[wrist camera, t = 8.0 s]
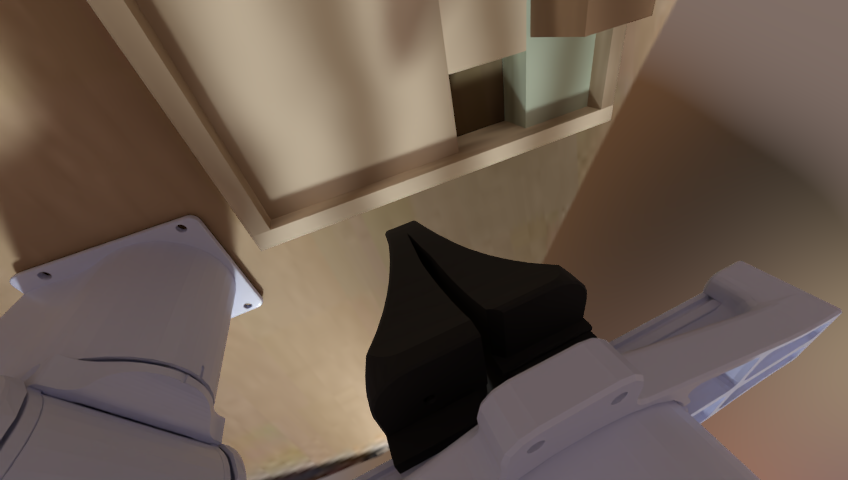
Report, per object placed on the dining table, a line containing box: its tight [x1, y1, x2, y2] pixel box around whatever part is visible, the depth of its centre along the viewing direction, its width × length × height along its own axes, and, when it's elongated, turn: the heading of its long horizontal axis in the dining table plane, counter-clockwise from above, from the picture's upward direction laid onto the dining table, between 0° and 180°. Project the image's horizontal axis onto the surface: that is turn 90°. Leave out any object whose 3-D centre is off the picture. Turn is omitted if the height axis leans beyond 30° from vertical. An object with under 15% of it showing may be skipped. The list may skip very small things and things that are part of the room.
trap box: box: [86, 0, 627, 251], centre depth 15 cm, size 24×16×4 cm, turn 102°
